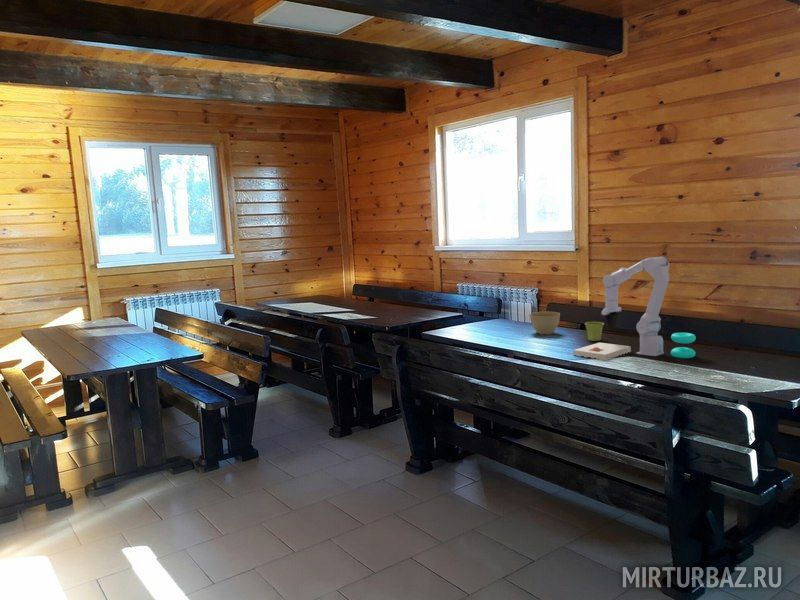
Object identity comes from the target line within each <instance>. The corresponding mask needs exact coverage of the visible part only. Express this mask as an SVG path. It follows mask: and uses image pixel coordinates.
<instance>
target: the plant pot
mask: <svg viewBox="0 0 800 600" xmlns="http://www.w3.org/2000/svg"><path fill="white" fill-rule="evenodd" d="M584 325H585V328H586V332H587V338H588V341H591V342H596V341H601V339H602V333H603V328H604V325H605V323H604V322H600V321H587V322H585V323H584Z"/></svg>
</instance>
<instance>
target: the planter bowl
mask: <svg viewBox="0 0 800 600" xmlns="http://www.w3.org/2000/svg"><path fill="white" fill-rule="evenodd" d="M560 316H561V313H560V312H557V311H537V312H536V311H535V312H531V313H529V319H530V322H531V323H530V324H531V325H532V328H533V329H534V330H535V332H536V334H537V333H539V334H538V335H543V334H546V335H552V334H554V333H555V331H556V329H557V328H558V326H559V323H560V319H561V317H560Z"/></svg>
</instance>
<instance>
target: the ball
mask: <svg viewBox="0 0 800 600" xmlns="http://www.w3.org/2000/svg"><path fill="white" fill-rule="evenodd" d="M592 351H596V352H600V351H601V350H600V349H599V348H598V347H594V348H593V349H592Z"/></svg>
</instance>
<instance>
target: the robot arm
mask: <svg viewBox="0 0 800 600" xmlns="http://www.w3.org/2000/svg"><path fill="white" fill-rule="evenodd" d="M670 265H671V264H670V262H669V261H668V259H667V258H666V257H665V256H659V257H658V256H657V257H656V256H655V257H647V258H644V259H642V260H640V261H639V262H637V263H635V264H634V265H631V266H630V267H628V268H627V267H619V270H617V271H613V272H611V274H606V275H605V276H604V277H603V278H602V284H603V286H604V293H605V295H604V297H605V299H604V300H605V301H604V302H605V303H604V304H605V307H604V308H602V309H603V310H601V315H602V316H604V317H605V319H606V322H607V325H608V329H615V326H616V322H617V319H618V318H619V316H620V313H619V312H622V307H621V306H619V288H620V287H619V286H620V285H621V284H622V283H624V282H626V281H628V280H630V279H631V278H632V275H635V274H637V273H640V272H641V271H645V272H647V274H648V275H650V276H651V277H652V278H653V280H654V283H653V286H652V289H651V293H650V296H649V300H648V303H647V306H646V310H645V313H644V314H643V315H642V316H641V317H640V320H639V321H638V322H637V323H636V327H635V328H636V331H637V332H638V335H639V351H637V352H635V354H637V355H643V356H649V357H657V356H660V355H664V354H665V352H664V339H663V336H662V335H658V332H659V331H660V330H661V327H662V326H661V320H662V318H661V317H660V315H659V314H660V312H661V311H660V310H661V308H662V304H663V301H664V298H665V294H666V292H667V288H668V285H669V282H670V271H669V269H670Z"/></svg>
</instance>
